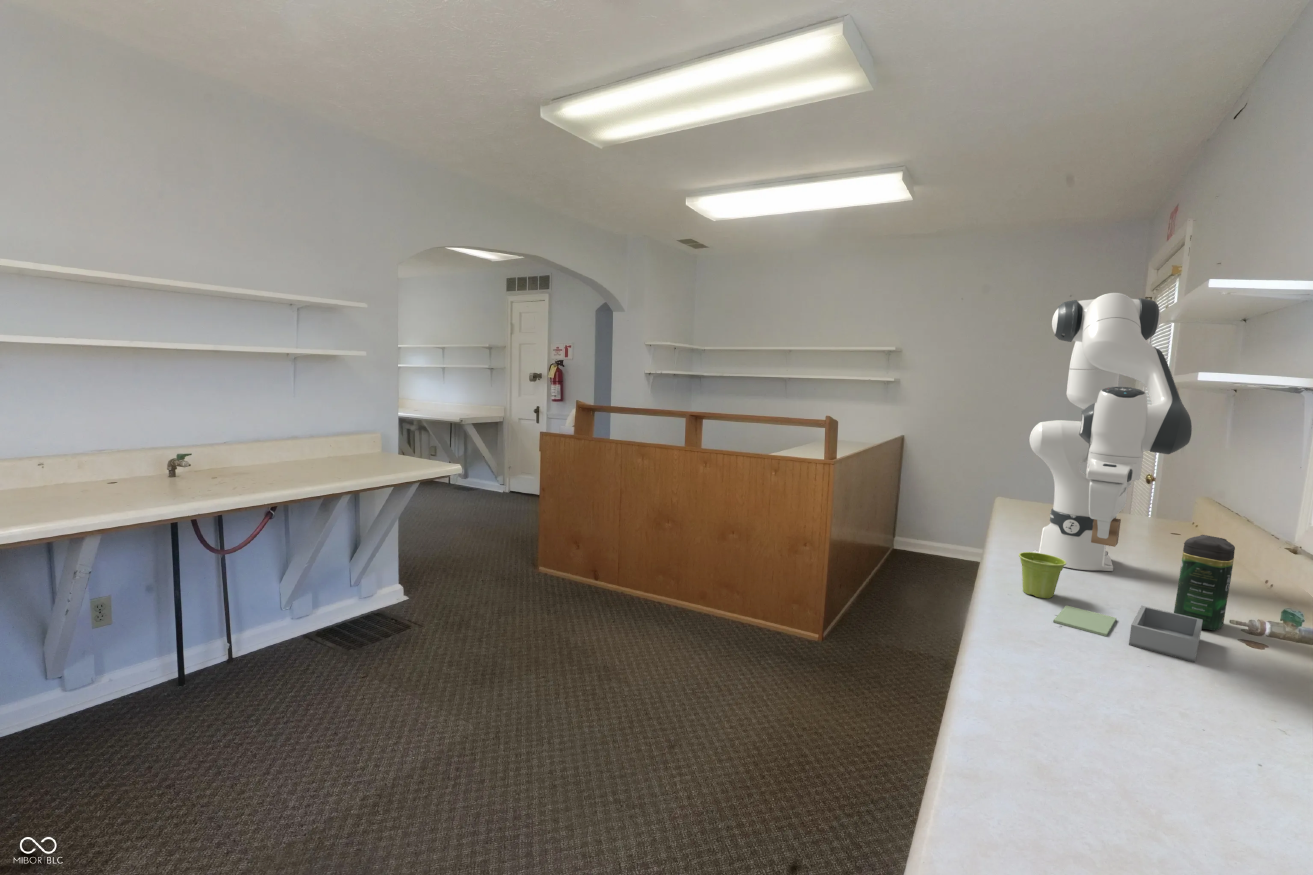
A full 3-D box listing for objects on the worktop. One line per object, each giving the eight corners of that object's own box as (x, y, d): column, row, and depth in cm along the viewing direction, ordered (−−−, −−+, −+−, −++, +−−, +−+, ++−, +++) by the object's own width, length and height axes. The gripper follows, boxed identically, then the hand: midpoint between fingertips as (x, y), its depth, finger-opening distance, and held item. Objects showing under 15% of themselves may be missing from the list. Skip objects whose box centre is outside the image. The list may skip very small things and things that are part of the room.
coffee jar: (1219, 635, 124) (1232, 545, 122) (1169, 622, 130) (1181, 536, 128) (1227, 623, 131) (1239, 538, 129) (1178, 611, 137) (1190, 529, 135)
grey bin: (1139, 623, 129) (1141, 605, 128) (1199, 638, 122) (1202, 619, 122) (1128, 644, 118) (1131, 624, 118) (1194, 662, 112) (1197, 641, 111)
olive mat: (1066, 607, 137) (1066, 605, 137) (1116, 619, 130) (1116, 617, 130) (1053, 622, 128) (1053, 619, 128) (1106, 636, 122) (1106, 633, 122)
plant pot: (1048, 588, 149) (1052, 553, 148) (1070, 602, 140) (1075, 565, 139) (1007, 585, 150) (1011, 550, 149) (1027, 599, 141) (1031, 562, 140)
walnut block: (1094, 538, 129) (1097, 515, 129) (1117, 543, 127) (1120, 519, 126) (1090, 542, 126) (1093, 518, 126) (1114, 546, 124) (1118, 522, 123)
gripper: (1102, 461, 134) (1095, 523, 136) (1085, 471, 119) (1077, 540, 121) (1139, 465, 130) (1131, 529, 132) (1126, 476, 115) (1116, 548, 117)
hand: (1105, 535), depth 126 cm, fingers closed on walnut block, 4 cm apart
